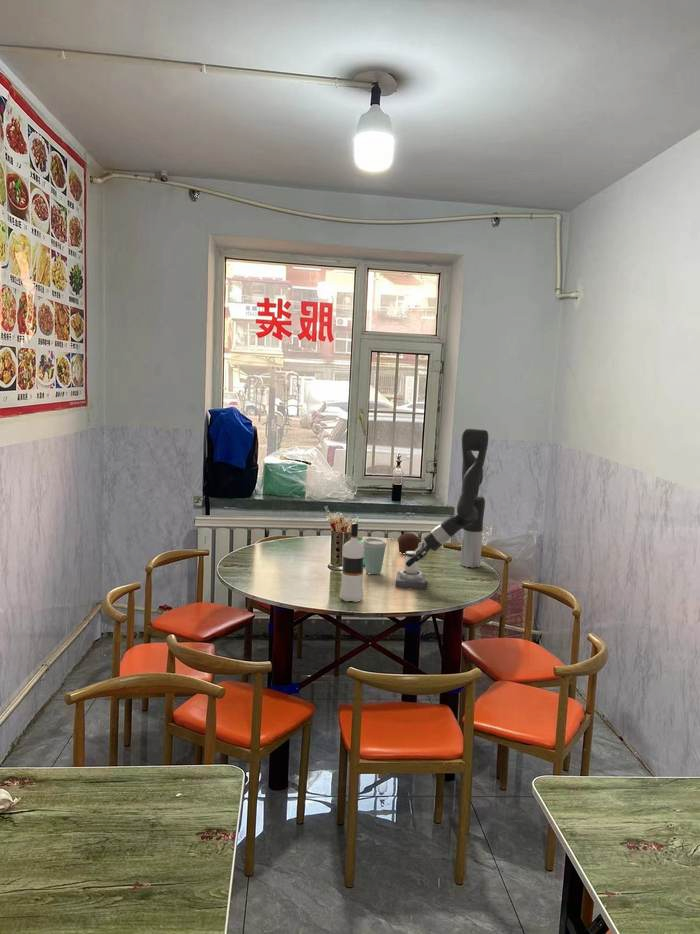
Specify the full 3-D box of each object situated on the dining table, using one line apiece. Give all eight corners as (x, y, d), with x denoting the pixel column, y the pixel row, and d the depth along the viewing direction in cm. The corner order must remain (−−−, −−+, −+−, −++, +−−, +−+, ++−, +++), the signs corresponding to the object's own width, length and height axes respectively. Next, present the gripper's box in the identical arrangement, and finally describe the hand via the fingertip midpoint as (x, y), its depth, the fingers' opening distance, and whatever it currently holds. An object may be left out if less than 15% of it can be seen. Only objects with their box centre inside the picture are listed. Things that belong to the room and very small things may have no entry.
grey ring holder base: (397, 578, 296) (397, 567, 295) (424, 580, 294) (425, 569, 294) (395, 587, 282) (396, 575, 281) (424, 589, 281) (425, 578, 280)
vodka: (334, 598, 264) (337, 522, 260) (350, 593, 271) (354, 519, 267) (351, 604, 258) (355, 526, 254) (368, 599, 264) (372, 523, 261)
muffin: (402, 549, 349) (403, 530, 348) (422, 552, 345) (423, 533, 343) (393, 553, 339) (394, 534, 338) (414, 557, 334) (415, 537, 333)
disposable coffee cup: (389, 572, 304) (390, 539, 302) (377, 578, 295) (379, 544, 293) (368, 568, 309) (369, 536, 307) (356, 573, 300) (358, 540, 298)
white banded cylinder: (404, 571, 291) (406, 550, 290) (417, 572, 290) (419, 551, 289) (404, 574, 285) (405, 553, 284) (417, 575, 285) (418, 554, 284)
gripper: (431, 527, 292) (402, 552, 294) (431, 534, 277) (400, 561, 280) (443, 540, 292) (413, 565, 294) (443, 548, 277) (412, 574, 280)
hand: (407, 563), depth 287 cm, fingers closed on white banded cylinder, 5 cm apart
